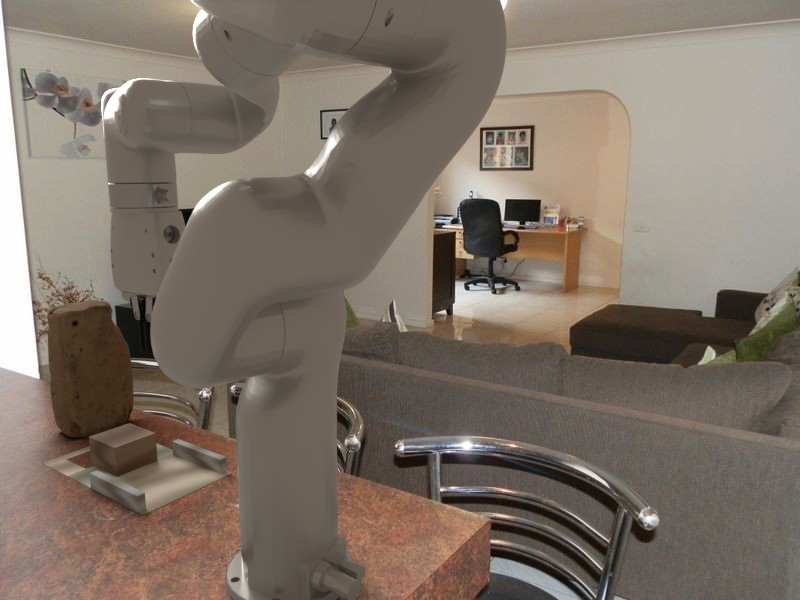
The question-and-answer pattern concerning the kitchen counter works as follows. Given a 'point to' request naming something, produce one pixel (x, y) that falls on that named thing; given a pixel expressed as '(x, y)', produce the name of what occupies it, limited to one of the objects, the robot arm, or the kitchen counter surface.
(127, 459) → the walnut block
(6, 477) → the kitchen counter surface
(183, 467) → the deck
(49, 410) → the kitchen counter surface
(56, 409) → the block
